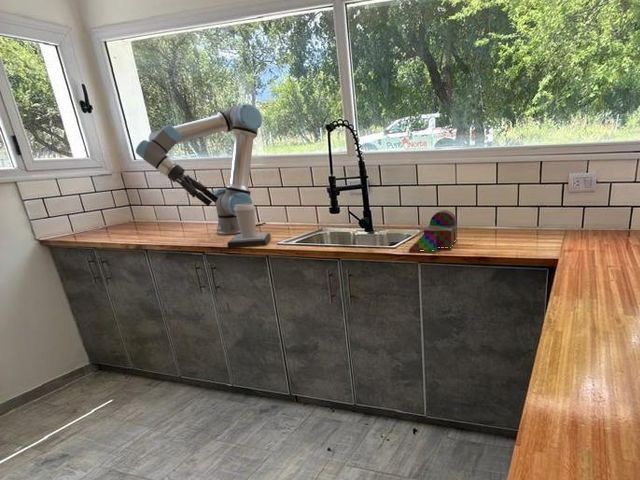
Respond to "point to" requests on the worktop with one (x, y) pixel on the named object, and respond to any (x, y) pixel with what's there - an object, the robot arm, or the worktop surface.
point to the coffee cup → (246, 219)
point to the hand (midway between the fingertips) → (213, 202)
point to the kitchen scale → (249, 240)
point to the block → (437, 234)
